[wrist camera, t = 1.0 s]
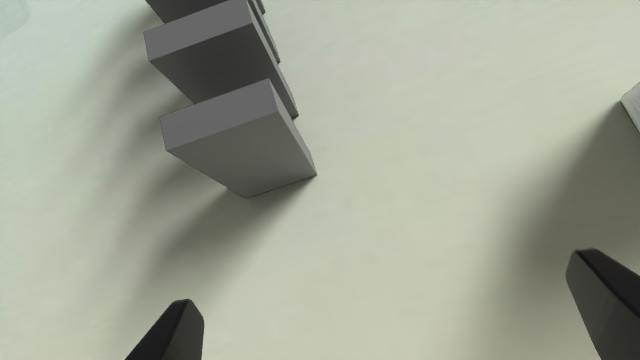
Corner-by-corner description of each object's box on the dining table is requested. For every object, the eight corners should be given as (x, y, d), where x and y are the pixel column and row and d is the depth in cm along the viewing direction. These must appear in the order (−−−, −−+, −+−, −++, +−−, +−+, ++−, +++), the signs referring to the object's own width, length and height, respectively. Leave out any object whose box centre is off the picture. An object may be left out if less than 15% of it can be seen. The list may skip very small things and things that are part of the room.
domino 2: (298, 115, 27) (252, 22, 17) (231, 138, 27) (148, 60, 17) (292, 95, 27) (244, -6, 17) (226, 118, 27) (143, 32, 18)
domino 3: (317, 174, 25) (278, 110, 16) (246, 198, 26) (165, 150, 16) (310, 153, 26) (268, 78, 16) (240, 176, 26) (159, 117, 16)
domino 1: (280, 61, 28) (227, -53, 18) (216, 84, 28) (131, -16, 19) (274, 43, 28) (220, -78, 19) (211, 66, 29) (127, -41, 19)
